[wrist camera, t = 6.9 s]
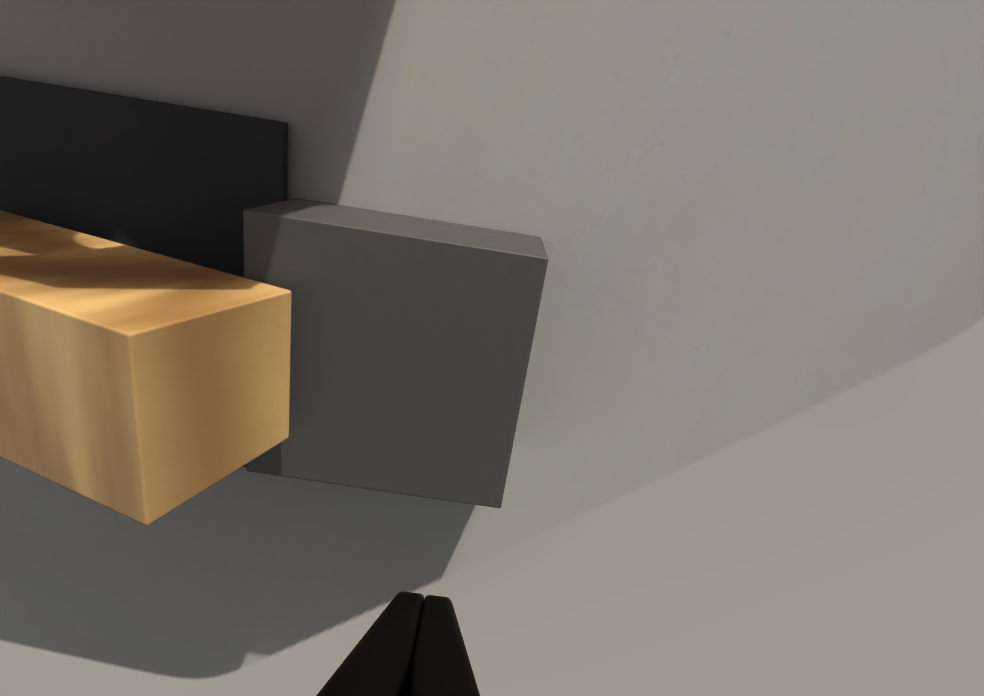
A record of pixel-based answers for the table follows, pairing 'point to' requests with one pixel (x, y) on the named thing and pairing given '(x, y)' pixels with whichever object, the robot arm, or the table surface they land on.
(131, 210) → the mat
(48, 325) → the maple block
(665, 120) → the table surface
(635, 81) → the table surface
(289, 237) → the stand
